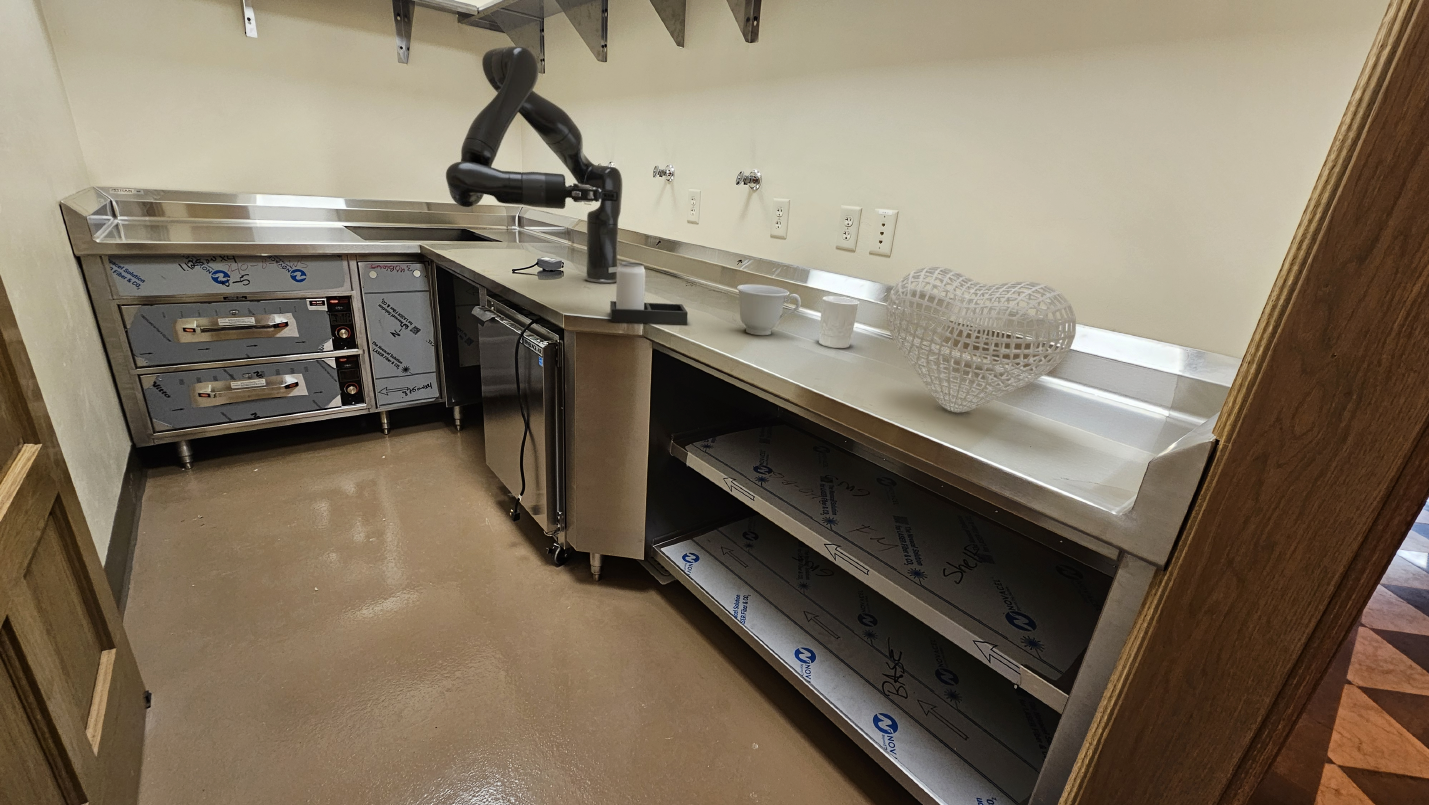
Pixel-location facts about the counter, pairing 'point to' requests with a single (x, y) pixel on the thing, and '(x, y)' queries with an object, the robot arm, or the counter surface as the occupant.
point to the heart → (992, 289)
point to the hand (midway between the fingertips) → (615, 195)
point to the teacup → (763, 307)
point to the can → (630, 286)
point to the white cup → (837, 321)
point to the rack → (650, 314)
